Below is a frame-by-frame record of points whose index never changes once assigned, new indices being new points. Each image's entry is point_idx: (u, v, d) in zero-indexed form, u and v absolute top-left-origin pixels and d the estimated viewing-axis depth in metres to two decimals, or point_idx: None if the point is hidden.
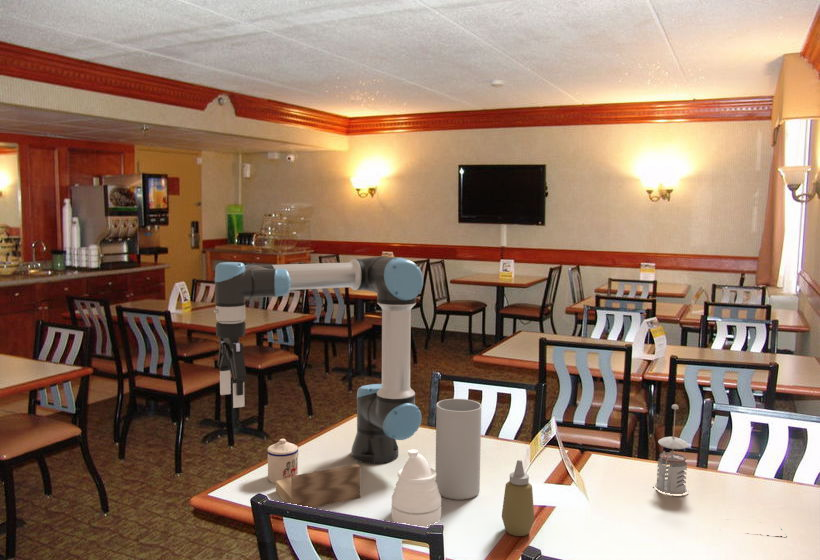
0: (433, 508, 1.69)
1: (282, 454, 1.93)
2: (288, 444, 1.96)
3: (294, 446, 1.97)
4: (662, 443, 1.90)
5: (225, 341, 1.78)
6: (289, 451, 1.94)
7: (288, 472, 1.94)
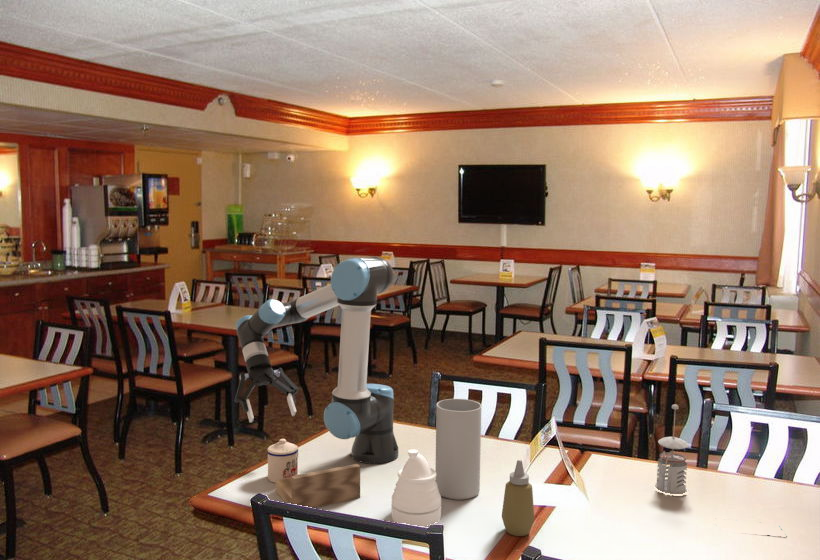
0: (433, 508, 1.69)
1: (282, 454, 1.93)
2: (288, 444, 1.96)
3: (294, 446, 1.97)
4: (662, 443, 1.90)
5: None
6: (289, 451, 1.94)
7: (288, 472, 1.94)
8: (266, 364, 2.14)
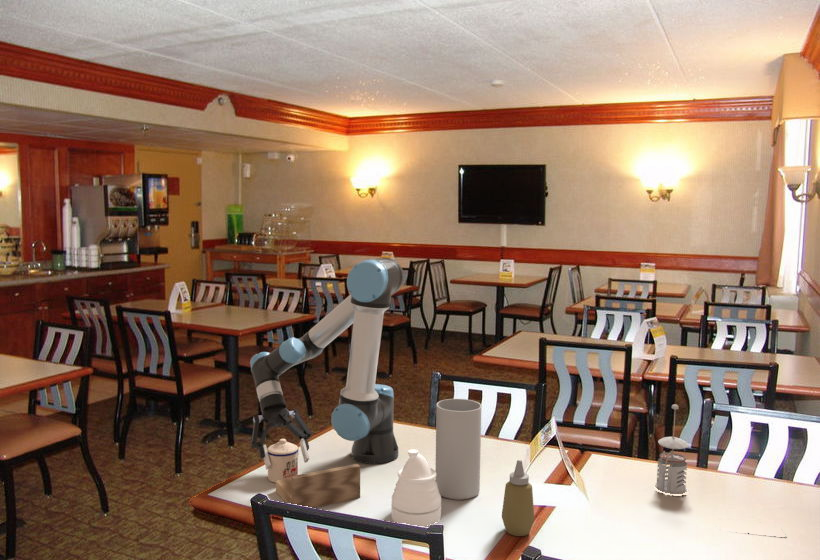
0: (433, 508, 1.69)
1: (282, 454, 1.93)
2: (288, 444, 1.96)
3: (294, 446, 1.97)
4: (662, 443, 1.90)
5: None
6: (289, 451, 1.94)
7: (288, 472, 1.94)
8: (281, 404, 2.05)
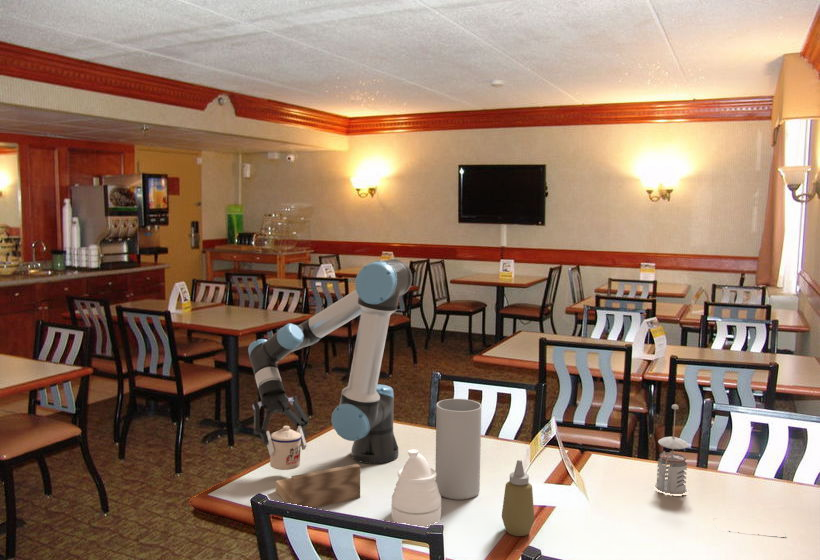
0: (433, 508, 1.69)
1: (286, 440, 1.93)
2: (291, 431, 1.96)
3: (297, 433, 1.98)
4: (662, 443, 1.90)
5: None
6: (293, 438, 1.94)
7: (291, 459, 1.94)
8: (279, 390, 2.05)
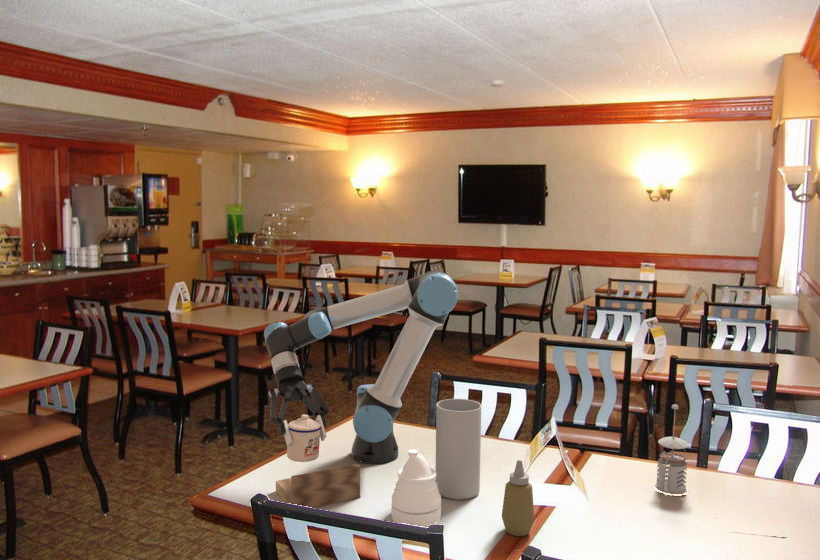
0: (433, 508, 1.69)
1: (305, 430, 1.79)
2: (310, 420, 1.83)
3: (317, 423, 1.84)
4: (662, 443, 1.90)
5: None
6: (312, 427, 1.80)
7: (310, 450, 1.80)
8: (297, 377, 1.91)
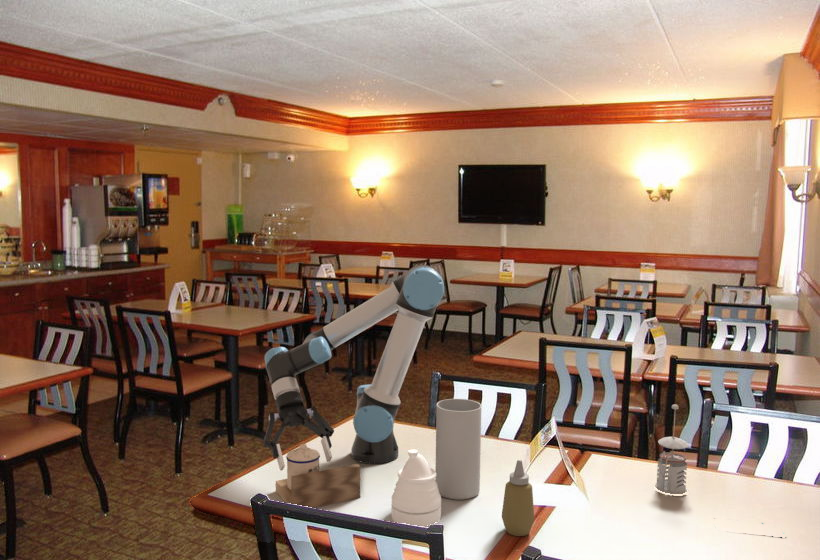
0: (433, 508, 1.69)
1: (304, 461, 1.80)
2: (309, 450, 1.83)
3: (315, 452, 1.84)
4: (662, 443, 1.90)
5: None
6: (311, 457, 1.81)
7: None
8: (298, 402, 1.92)
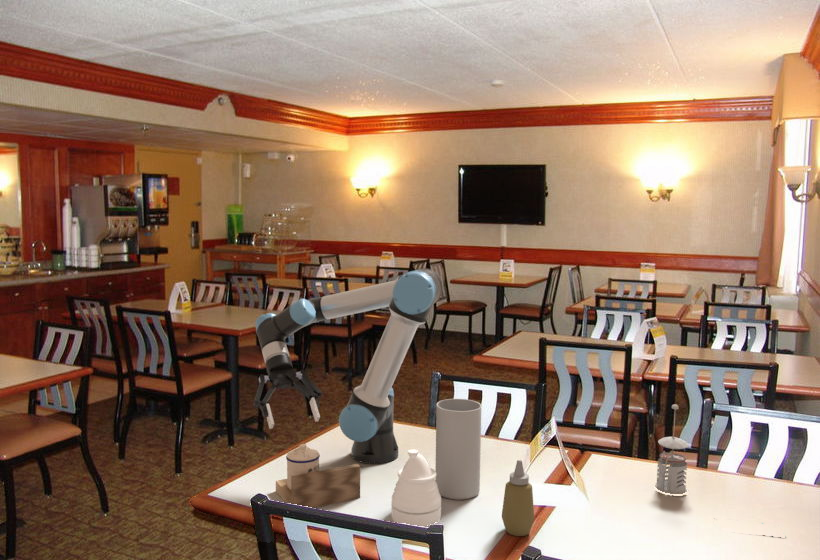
0: (433, 508, 1.69)
1: (303, 460, 1.80)
2: (308, 450, 1.83)
3: (315, 452, 1.84)
4: (662, 443, 1.90)
5: None
6: (311, 457, 1.81)
7: None
8: (287, 365, 1.98)
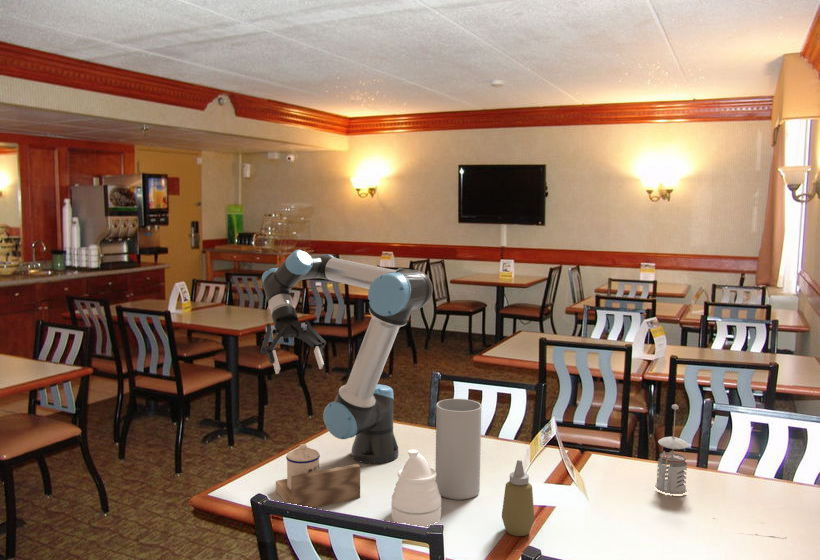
0: (433, 508, 1.69)
1: (303, 461, 1.80)
2: (309, 450, 1.83)
3: (315, 452, 1.84)
4: (662, 443, 1.90)
5: None
6: (311, 457, 1.81)
7: None
8: (293, 316, 2.07)
